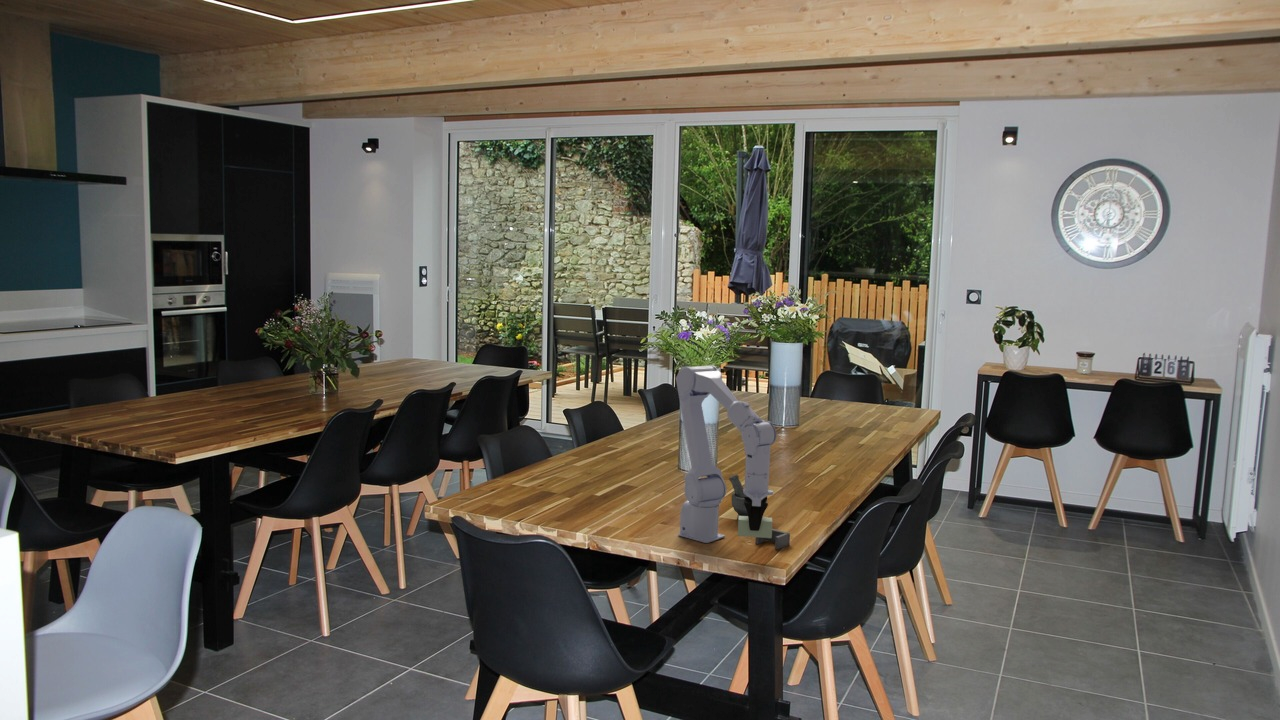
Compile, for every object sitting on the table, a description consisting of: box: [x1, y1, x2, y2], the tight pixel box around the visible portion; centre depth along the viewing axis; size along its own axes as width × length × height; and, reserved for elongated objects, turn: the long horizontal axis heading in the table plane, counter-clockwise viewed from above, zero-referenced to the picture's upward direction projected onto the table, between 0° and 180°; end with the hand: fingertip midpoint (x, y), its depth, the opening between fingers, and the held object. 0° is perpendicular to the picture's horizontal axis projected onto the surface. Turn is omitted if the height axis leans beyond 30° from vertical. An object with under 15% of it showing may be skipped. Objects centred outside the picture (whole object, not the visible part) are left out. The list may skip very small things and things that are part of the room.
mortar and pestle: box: [728, 474, 768, 521], centre depth 258 cm, size 11×9×12 cm
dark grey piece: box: [754, 528, 791, 550], centre depth 237 cm, size 7×6×3 cm
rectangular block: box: [737, 516, 773, 538], centre depth 225 cm, size 8×4×4 cm, turn 84°
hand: (754, 527), depth 226 cm, fingers closed on rectangular block, 3 cm apart
